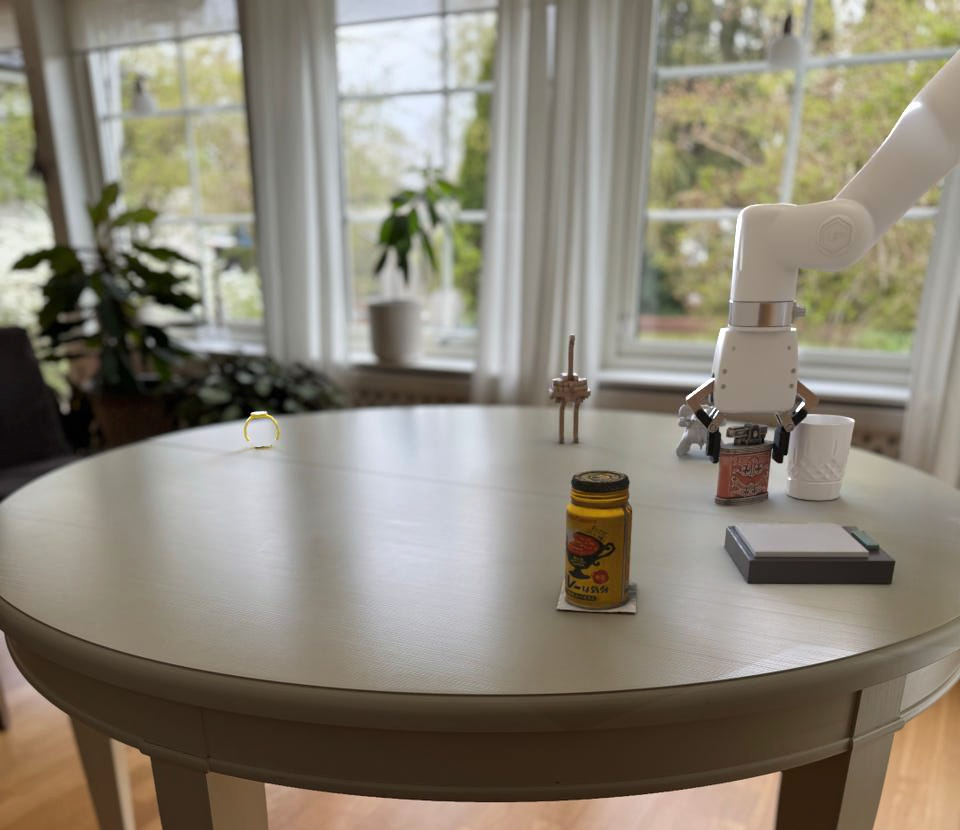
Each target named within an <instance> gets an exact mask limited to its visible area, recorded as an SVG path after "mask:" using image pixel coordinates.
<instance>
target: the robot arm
mask: <svg viewBox="0 0 960 830" xmlns="http://www.w3.org/2000/svg"><path fill="white" fill-rule="evenodd" d="M959 166H960V48H959V49H958V50H957V51H956V52H955V53H954V54H953V55H952V56H951V57H950V58H949V60H948V61H947V62H946V63H945V64H944V65H943V66H942V67H941V68H940V69H939V70H938V71H937V73H936V74H935V75H933V77H932V78H931V79H930V80H929V81H928V82H927V83H926V84H925V85H924V86H923V87H922V88H921V90H920V91H919V92H918V93H917V94H916V96H914V98H913V99H912V100H911V102H910V103H909V104H908V105H907V107H906V108H905V109H904V111H903V112H902V114H901V116H900V117H899V118H898V121H897V122H896V123H895V125H894V127H893V128H892V130H891V132H890V133H889V135H888V136H887V137H886V139H884V141H883V143H882V144H881V145H880V146H879V148H878V149H877V150H876V151H875V153H874V154H873V155H871V157H870V158H869V160H868V161H866V163H865V164H863V166H862V168H860V170H859V171H858V172H857V173H856V174H854V176H853V177H852V179H850V180H849V181H848V183H847V184H846V185H845V186H844V187H843V188H842V189H841V190H840V191H839V192H838V194H837V195H836V196H835V197H834V198H832V199H830V200H824V201H819V202H814V203H807V204H799V205H798V204H794V203H761V204H753V205H752V204H751V205H749V206H746V207H744V208H743V209H742V210H741V211H740V213H739V215H738V217H737V222H736V231H735V240H734V241H735V242H734V253H733V262H732V263H733V266H732V278H731V287H730V295H729V296H730V297H729V307H728V308H729V309H728V319H727V327H724V328H720V331H719V333H718V337H717V341H716V345H715V350H714V354H713V360H712V361H713V362H712V366H711V374H710V379H708V381H706V382H705V383H703V384H702V385H701V386H699V387H698V388H697V389H696V390H694V391H693V392H692V393H690V394H689V395H687V396H686V397H685V400H684V402H685V403H686V405H688V406H689V407H690V409H691V410H692V412H693V413H694V415H695V416H696V417H697V418H698V419H699V421H700V422H701V423H702V424H703V425H704V426H705V427H706V428H707V439H706V444H705V456H706V457H708V459H709V461H710V462H711V463H712V464H713V465H716V464H719V463H720V457H719V455H720V444H721V439H722V432H720V427H719V426H720V425H721V423H722V422H723V420H724V419H725V418H726V417H728V415H729V414H762V413H763V414H767V413H768V414H774V417H775V418H776V420H777V423H778V424H777V427H776V428H775V429H774V433H773V440H772V441H773V442H774V448H773V449H772V454H771V460H773V461H774V462H776V463H777V464H779V465H780V464H783V463H784V459H785V456H787V457H788V449H789V440H790V432H792V431H793V430H794V428H795V427H796V426H797V425H798V424H799V423H800V422H801V421H802V420H804V419H805V418H806V416H807V415H809V413H810V412H811V411H812V410H814V408H815V407H816V406H817V405H818V403H819V402H820V397H819V396H818V395H816V393H814V392H813V391H812V390H811V389H809V388H808V387H807V386H806V385H805V384H804V383H802V382H801V381H800V380H798V374H799V342H798V331H797V328H795V327H792V326H793V325H794V323H795V321H796V320H798V319H804V318H806V317H805V316H806V313H807V308H806V306H805V305H803V306H802V305H799V304H797V301H796V293H797V284H798V276H799V269H805V270H812V271H819V272H826V273H837V272H842V271H845V270H848V269H849V268H851V267H853V266H855V265H856V264H857V263H858V262H860V261H861V260H862V259H863V258H864V257H865V256H866V255H867V254H868V253H869V252H870V250H872V248H873V247H874V246H875V245H876V244H877V243H878V242H879V241H880V240H881V239H882V238H883V237H884V236H885V235H886V234H887V233H888V232H889V231H890V230H891V229H892V228H893V227H894V226H895V225H896V224H897V223H898V222H899V221H900V220H901V219H902V218H903V217H904V216H905V215H906V214H907V213H908V212H909V210H910V209H912V208H913V207H914V206H915V205H916V204H917V203H918V202H919V201H920V200H921V199H922V198H923V197H924V196H925V195H926V194H927V193H928V192H929V191H930V190H931V189H932V188H933V187H934V186H935V185H937V184H938V183H939V182H940V181H941V180H943V179H944V178H945V177H946V176H947V175H949V174H950V173H952V172H953V171H954V170H955V169H956V168H958V167H959ZM797 395H798V396H799V397H800V398H801V399H802V402H800V404H799V406H798V407H796V408H794V410H793V411H792V412H791V413H790V412H789V411H790V410H791V409H793V407H794V406H795V403H796V398H797ZM707 397H708V403H709V404H710V405H711V407H712V406H714V407H715V408H714V410H713V411H712V413H711V414H710V416H709V415H708V414H707V413H706V412H705V411H704V410H703V408H702V406H701V405H702V404H701V402H702V400H704V399H705V398H707Z"/></svg>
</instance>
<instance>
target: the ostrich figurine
mask: <svg viewBox="0 0 960 830" xmlns="http://www.w3.org/2000/svg"><path fill="white" fill-rule="evenodd" d="M567 340H568V343H567V372H560V377H555V378H551V385H550V387H548V399H549V400H553V403H554V404H558V407H559V409H558V443H559V444H565V410H566V407H567V404H568V403H572V404H573V410H572V412H573V413H572V419H573V420H572V442H573V443H574V444H576V443H577V444H578V443H579V412H580V411H579V410H580V406H581V403H584V401H586V399H589V397H591V393H592V391H591V389H590V388H589V386H588V379H587V378H585V377H580V375H578V373H577V372H574V350H575V348H574V347H575V341H576V335H575V334H574V333H569V334H568V339H567Z"/></svg>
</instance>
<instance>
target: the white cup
mask: <svg viewBox="0 0 960 830" xmlns="http://www.w3.org/2000/svg"><path fill="white" fill-rule="evenodd" d="M855 423H856V420H855V419H854V418H851V417H849V416H848V417H847V416H843V415H834V414H819V413H818V414H816V413H815V414H807V416H806V418H805V419H804V420H802V421H801V422H800V423H799V424H798V425H797V426H796V427H795V428H794V430H793V431H792V432H790V440H789V449H788V454H787V463H786V464H787V465H786V472H787V476H786V487H785V493H786V494H787V495H788V496H789V497H791V498H795V499H798V500H803V501H804V500H805V501H813V502H814V501H817V502H818V501H819V502H822V501H831V500H836V499H838V498H839V496H840V495H841V489H842V484H843V478H844V476H845V474H846V473H845V472H846V468H847V463H848V458H849V454H850V449H851V444H852V438H853V433H854V428H855Z"/></svg>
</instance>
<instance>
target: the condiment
mask: <svg viewBox="0 0 960 830" xmlns="http://www.w3.org/2000/svg"><path fill="white" fill-rule="evenodd" d="M570 484H571V487H570V488H571V489H570V493H569V496H570V499H571V500H570V502H569V503H568V504H567V506H566V513H565V544H564V545H565V549H564V552H565V562H564V563H565V564H564V567H565V569H564V578H563V581H562V583H561V584H562V586H561V589H560V593H559V597H558V602H557V604H556V605H557V606H556V610H567V611H568V610H569V611H578V612H594V613H595V612H598V613H618V612H621V613H637V596H638V595H637V592H638V591H637V590H638V580H637V579H635V580H632V579H631V580H630V571H631V570H630V569H631V568H630V567H631V548H632V531H633V530H632V528H633V508H632V506H631V505H632V504H630V502H629V499H630V491H629V489H630V484H631V483H630V478H629V476H628V475H627V474H626V473H623V472H619V471H615V470H586V471H581V472H578V473H577V472H576V473H575V474H574V475H572V477H571V481H570Z"/></svg>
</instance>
